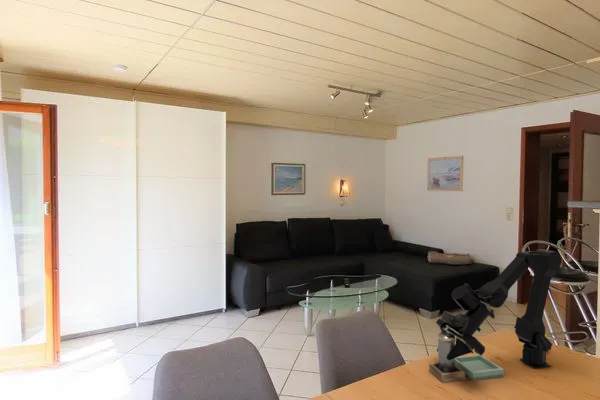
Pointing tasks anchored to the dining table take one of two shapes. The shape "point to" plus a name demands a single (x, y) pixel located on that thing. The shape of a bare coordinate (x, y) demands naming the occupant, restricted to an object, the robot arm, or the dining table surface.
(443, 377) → the holder
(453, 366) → the grey cylindrical piece
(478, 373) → the tray
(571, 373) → the dining table surface
